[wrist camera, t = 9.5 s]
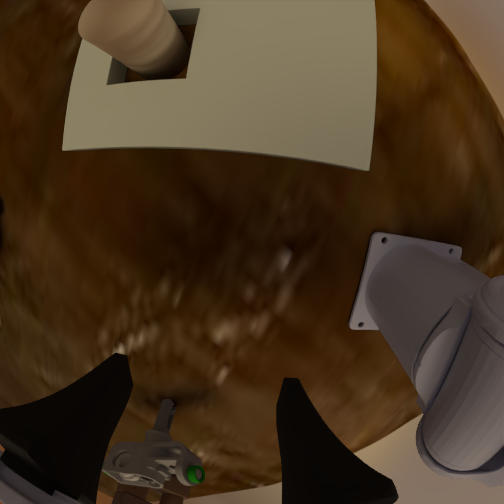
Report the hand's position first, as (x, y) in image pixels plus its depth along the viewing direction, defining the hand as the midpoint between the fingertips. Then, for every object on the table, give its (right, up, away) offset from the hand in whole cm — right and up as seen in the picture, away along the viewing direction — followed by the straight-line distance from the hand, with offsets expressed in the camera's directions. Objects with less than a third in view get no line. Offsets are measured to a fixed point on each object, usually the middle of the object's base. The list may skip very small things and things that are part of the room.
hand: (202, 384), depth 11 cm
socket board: (0, +19, +4) cm, 20 cm away
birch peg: (-4, +20, +4) cm, 20 cm away
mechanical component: (-6, -10, +13) cm, 18 cm away
